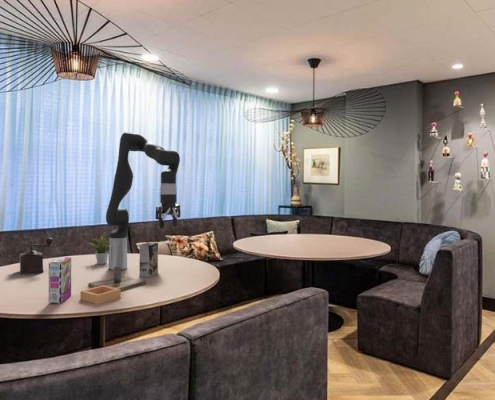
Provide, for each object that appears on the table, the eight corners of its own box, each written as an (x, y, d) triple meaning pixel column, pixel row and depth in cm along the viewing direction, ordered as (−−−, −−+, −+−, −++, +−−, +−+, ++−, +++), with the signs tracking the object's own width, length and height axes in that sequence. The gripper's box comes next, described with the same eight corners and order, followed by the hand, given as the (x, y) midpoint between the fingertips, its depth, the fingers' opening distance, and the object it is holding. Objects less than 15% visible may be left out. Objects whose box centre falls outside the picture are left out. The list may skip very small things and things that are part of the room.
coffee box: (150, 277, 191) (150, 245, 190) (139, 276, 192) (138, 244, 192) (158, 273, 200) (158, 242, 199) (147, 272, 201) (147, 242, 200)
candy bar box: (61, 304, 149) (61, 262, 148) (48, 304, 148) (47, 262, 147) (72, 295, 160) (71, 256, 159) (59, 295, 159) (59, 256, 158)
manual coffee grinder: (20, 275, 192) (19, 240, 191) (19, 271, 201) (19, 237, 200) (54, 271, 200) (54, 237, 199) (52, 267, 209) (52, 235, 208)
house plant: (106, 258, 234) (106, 232, 233) (120, 261, 226) (120, 234, 225) (85, 262, 222) (85, 235, 222) (99, 266, 214) (98, 237, 214)
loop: (80, 299, 154) (80, 291, 154) (103, 293, 163) (103, 285, 163) (97, 304, 148) (97, 295, 148) (120, 297, 158) (120, 289, 157)
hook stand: (88, 286, 173) (88, 266, 173) (120, 278, 188) (120, 260, 188) (113, 293, 164) (113, 272, 163) (145, 283, 179) (145, 264, 178)
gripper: (172, 192, 186) (172, 225, 187) (151, 193, 174) (151, 228, 175) (184, 193, 182) (184, 226, 183) (163, 193, 170) (163, 229, 171)
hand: (168, 227), depth 179 cm, fingers open, 8 cm apart
